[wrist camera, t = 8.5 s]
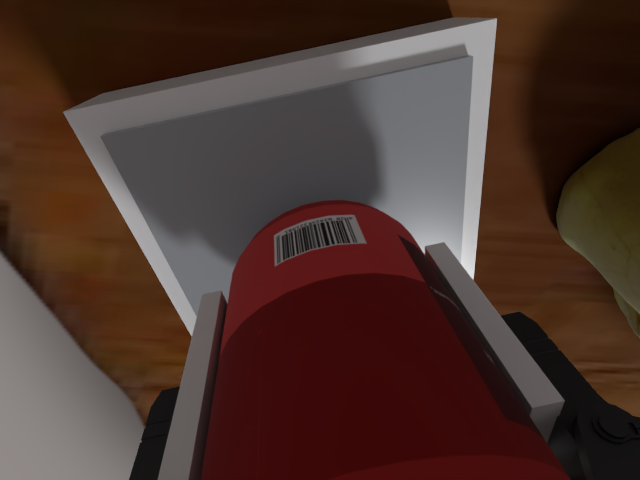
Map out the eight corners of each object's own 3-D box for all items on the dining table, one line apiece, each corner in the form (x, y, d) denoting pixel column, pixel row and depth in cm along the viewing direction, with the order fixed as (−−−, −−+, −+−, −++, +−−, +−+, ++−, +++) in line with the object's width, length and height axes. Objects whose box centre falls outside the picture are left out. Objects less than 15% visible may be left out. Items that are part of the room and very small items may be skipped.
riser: (453, 17, 16) (502, 18, 12) (445, 284, 24) (472, 327, 21) (103, 93, 16) (57, 114, 12) (221, 332, 24) (213, 382, 21)
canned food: (198, 300, 15) (82, 756, 6) (308, 150, 12) (435, 602, 3) (335, 357, 18) (403, 711, 9) (450, 250, 15) (729, 616, 6)
